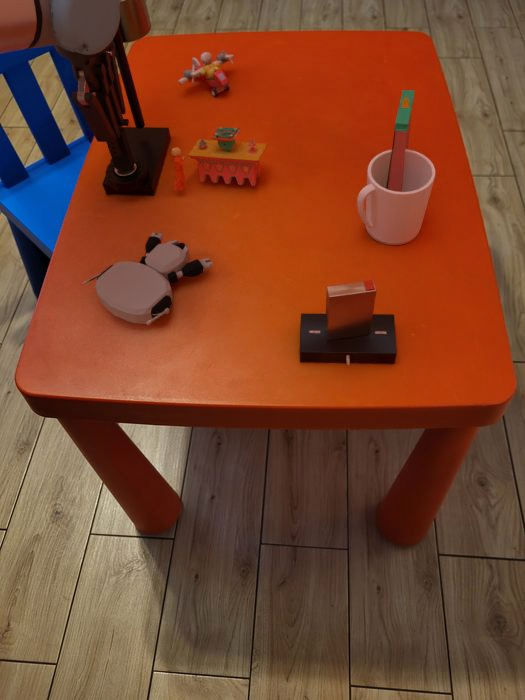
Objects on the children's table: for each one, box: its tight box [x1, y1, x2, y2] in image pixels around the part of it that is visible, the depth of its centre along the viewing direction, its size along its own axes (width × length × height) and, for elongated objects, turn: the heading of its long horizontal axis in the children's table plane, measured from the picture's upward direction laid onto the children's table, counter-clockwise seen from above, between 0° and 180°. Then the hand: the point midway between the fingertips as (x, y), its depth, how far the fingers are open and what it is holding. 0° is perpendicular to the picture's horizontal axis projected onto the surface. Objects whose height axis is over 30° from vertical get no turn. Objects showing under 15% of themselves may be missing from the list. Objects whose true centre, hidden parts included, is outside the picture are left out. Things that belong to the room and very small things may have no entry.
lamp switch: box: [115, 164, 138, 178], centre depth 95 cm, size 3×3×2 cm
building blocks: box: [171, 89, 415, 192], centre depth 90 cm, size 12×35×14 cm, turn 76°
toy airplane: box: [177, 49, 235, 98], centre depth 109 cm, size 9×9×6 cm
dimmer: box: [299, 313, 398, 366], centre depth 78 cm, size 12×10×3 cm
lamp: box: [113, 0, 152, 129], centre depth 95 cm, size 10×7×19 cm
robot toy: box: [81, 231, 214, 326], centre depth 85 cm, size 12×4×15 cm
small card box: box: [325, 279, 377, 340], centre depth 73 cm, size 6×2×9 cm, turn 97°
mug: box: [356, 148, 436, 246], centre depth 85 cm, size 11×9×10 cm
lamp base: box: [102, 126, 172, 197], centre depth 99 cm, size 16×8×4 cm, turn 174°
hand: (125, 166), depth 94 cm, fingers closed
